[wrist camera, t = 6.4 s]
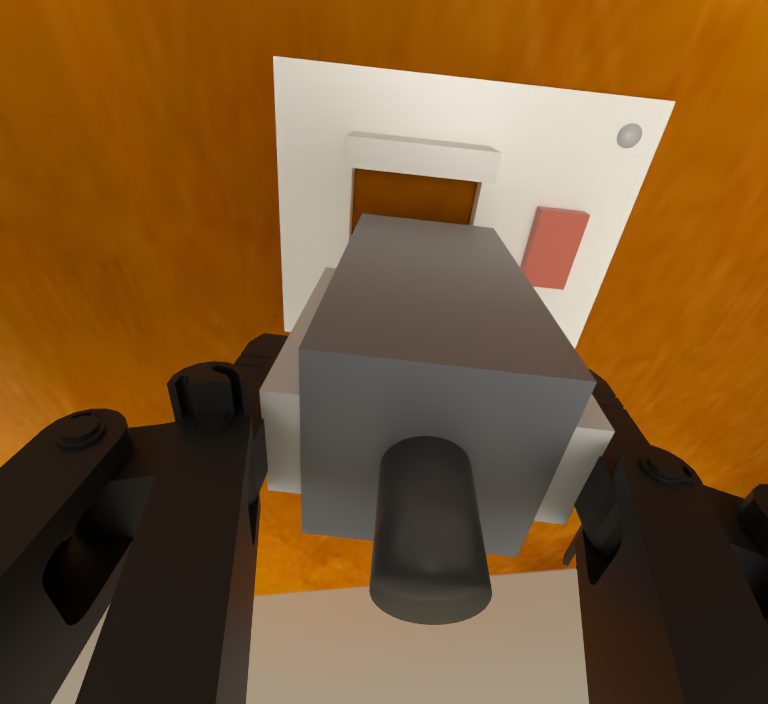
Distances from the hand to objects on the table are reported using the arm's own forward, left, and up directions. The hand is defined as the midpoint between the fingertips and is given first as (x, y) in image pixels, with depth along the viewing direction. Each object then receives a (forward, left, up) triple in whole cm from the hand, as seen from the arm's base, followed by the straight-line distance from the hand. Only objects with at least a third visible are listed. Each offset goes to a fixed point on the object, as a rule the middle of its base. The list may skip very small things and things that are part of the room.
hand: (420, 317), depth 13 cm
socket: (+2, 0, -11) cm, 11 cm away
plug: (0, 0, -4) cm, 4 cm away
